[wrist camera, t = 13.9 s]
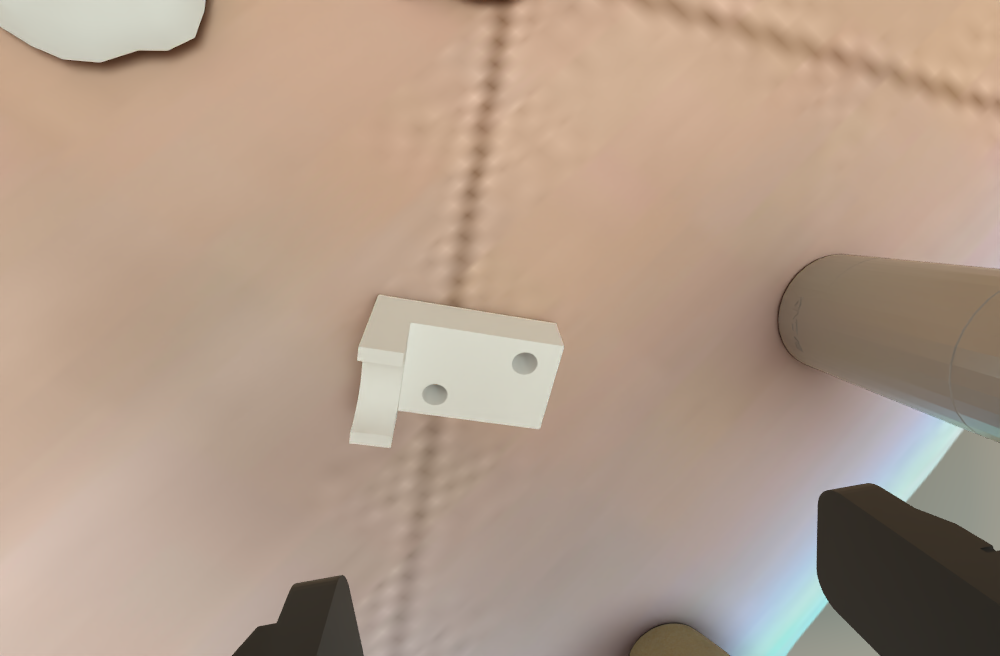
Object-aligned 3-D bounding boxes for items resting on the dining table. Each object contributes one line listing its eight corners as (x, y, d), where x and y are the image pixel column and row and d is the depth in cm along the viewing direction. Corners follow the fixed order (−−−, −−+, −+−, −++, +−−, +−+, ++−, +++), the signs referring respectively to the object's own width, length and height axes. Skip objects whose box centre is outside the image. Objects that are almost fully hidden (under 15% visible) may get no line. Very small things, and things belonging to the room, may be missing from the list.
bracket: (369, 378, 39) (349, 443, 33) (378, 294, 36) (358, 346, 30) (534, 401, 41) (547, 467, 34) (556, 323, 38) (575, 378, 31)
